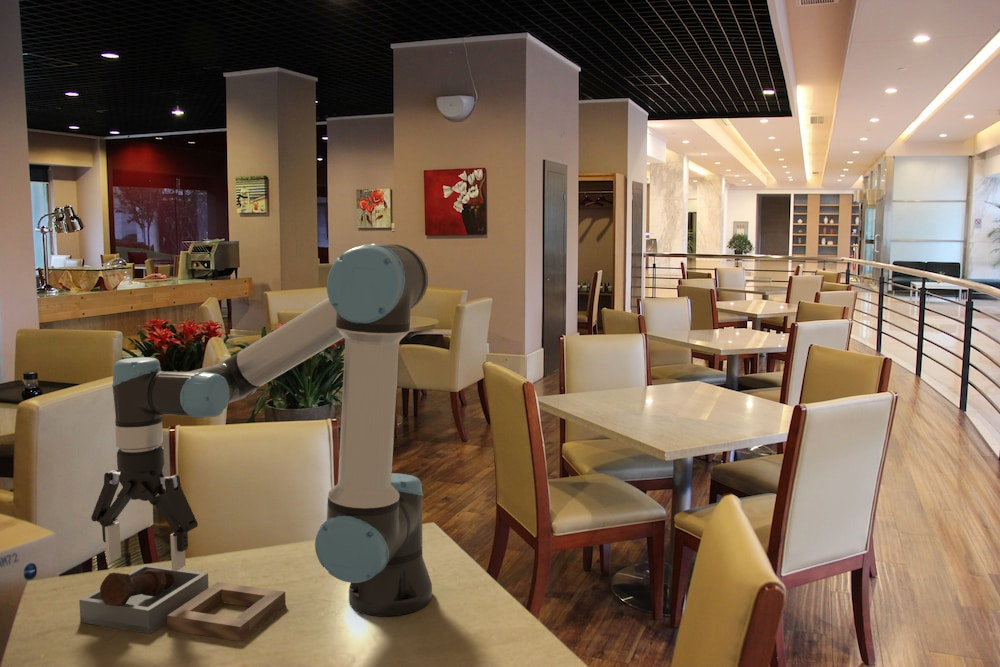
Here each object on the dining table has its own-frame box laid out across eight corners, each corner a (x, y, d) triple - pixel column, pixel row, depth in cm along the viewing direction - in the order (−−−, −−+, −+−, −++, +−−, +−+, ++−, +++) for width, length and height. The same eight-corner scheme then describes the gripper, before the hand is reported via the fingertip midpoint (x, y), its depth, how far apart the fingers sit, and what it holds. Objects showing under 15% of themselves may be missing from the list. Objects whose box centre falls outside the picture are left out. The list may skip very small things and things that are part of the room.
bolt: (166, 558, 151) (112, 566, 136) (185, 574, 150) (133, 584, 135) (149, 584, 151) (93, 595, 136) (168, 601, 149) (113, 613, 135)
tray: (208, 593, 150) (208, 572, 150) (149, 633, 135) (148, 610, 135) (145, 584, 154) (144, 564, 154) (80, 622, 139) (79, 599, 138)
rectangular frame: (285, 604, 146) (285, 591, 146) (240, 641, 133) (240, 626, 132) (218, 595, 150) (217, 582, 150) (167, 629, 136) (167, 615, 136)
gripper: (215, 446, 141) (219, 563, 144) (97, 436, 148) (103, 548, 151) (187, 457, 134) (193, 580, 137) (64, 446, 141) (71, 564, 143)
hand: (146, 564), depth 144 cm, fingers open, 13 cm apart
